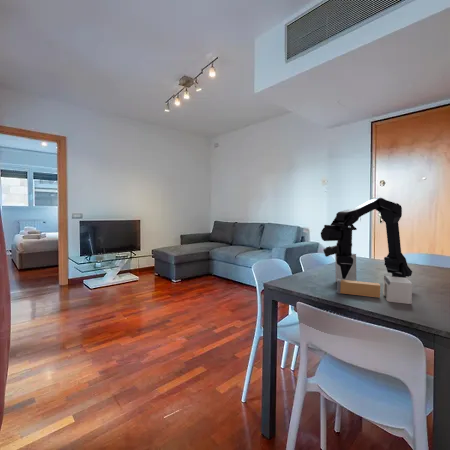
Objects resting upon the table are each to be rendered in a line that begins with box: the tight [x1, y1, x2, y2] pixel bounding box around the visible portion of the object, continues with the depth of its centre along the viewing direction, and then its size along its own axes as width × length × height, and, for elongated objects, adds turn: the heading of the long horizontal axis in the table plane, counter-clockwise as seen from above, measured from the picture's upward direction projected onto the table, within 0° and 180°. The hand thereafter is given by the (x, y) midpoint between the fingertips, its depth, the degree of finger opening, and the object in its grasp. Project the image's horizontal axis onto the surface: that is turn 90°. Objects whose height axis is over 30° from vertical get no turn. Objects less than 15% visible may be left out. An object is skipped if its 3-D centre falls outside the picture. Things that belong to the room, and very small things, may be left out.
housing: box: [382, 275, 413, 305], centre depth 110 cm, size 10×8×8 cm
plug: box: [336, 279, 381, 298], centre depth 116 cm, size 4×16×5 cm, turn 68°
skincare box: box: [334, 253, 357, 282], centre depth 135 cm, size 8×6×15 cm
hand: (343, 276), depth 117 cm, fingers open, 9 cm apart
